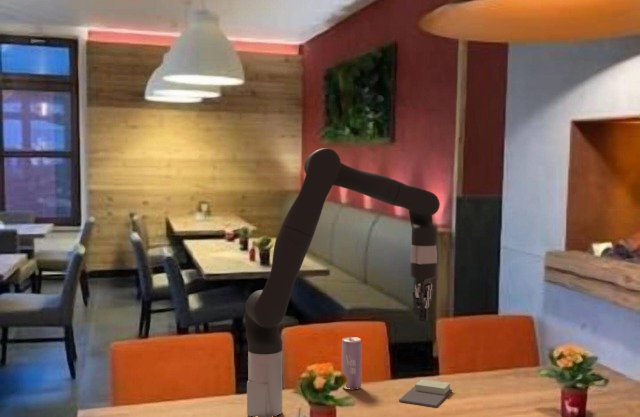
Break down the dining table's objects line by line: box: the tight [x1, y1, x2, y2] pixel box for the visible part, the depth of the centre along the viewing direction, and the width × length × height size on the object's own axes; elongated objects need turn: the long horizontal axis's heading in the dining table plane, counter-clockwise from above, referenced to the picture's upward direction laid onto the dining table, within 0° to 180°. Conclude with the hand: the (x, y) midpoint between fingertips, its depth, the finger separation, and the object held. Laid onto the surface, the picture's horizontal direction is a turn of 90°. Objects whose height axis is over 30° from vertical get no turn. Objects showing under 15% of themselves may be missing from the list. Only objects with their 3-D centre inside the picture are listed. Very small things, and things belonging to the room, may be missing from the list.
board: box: [414, 378, 451, 395], centre depth 200 cm, size 2×9×6 cm
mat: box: [398, 385, 453, 408], centre depth 196 cm, size 16×11×1 cm
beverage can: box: [341, 336, 362, 389], centre depth 204 cm, size 6×6×15 cm
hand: (423, 320), depth 192 cm, fingers closed
